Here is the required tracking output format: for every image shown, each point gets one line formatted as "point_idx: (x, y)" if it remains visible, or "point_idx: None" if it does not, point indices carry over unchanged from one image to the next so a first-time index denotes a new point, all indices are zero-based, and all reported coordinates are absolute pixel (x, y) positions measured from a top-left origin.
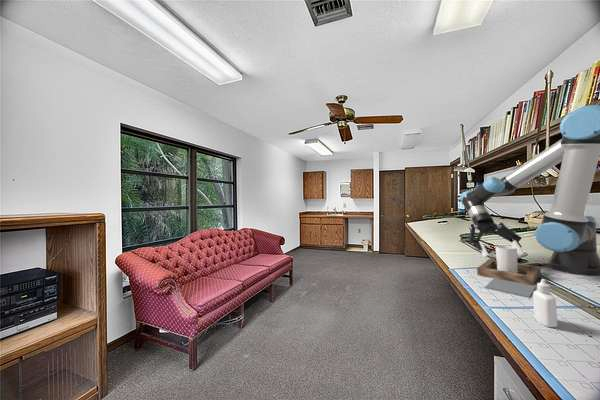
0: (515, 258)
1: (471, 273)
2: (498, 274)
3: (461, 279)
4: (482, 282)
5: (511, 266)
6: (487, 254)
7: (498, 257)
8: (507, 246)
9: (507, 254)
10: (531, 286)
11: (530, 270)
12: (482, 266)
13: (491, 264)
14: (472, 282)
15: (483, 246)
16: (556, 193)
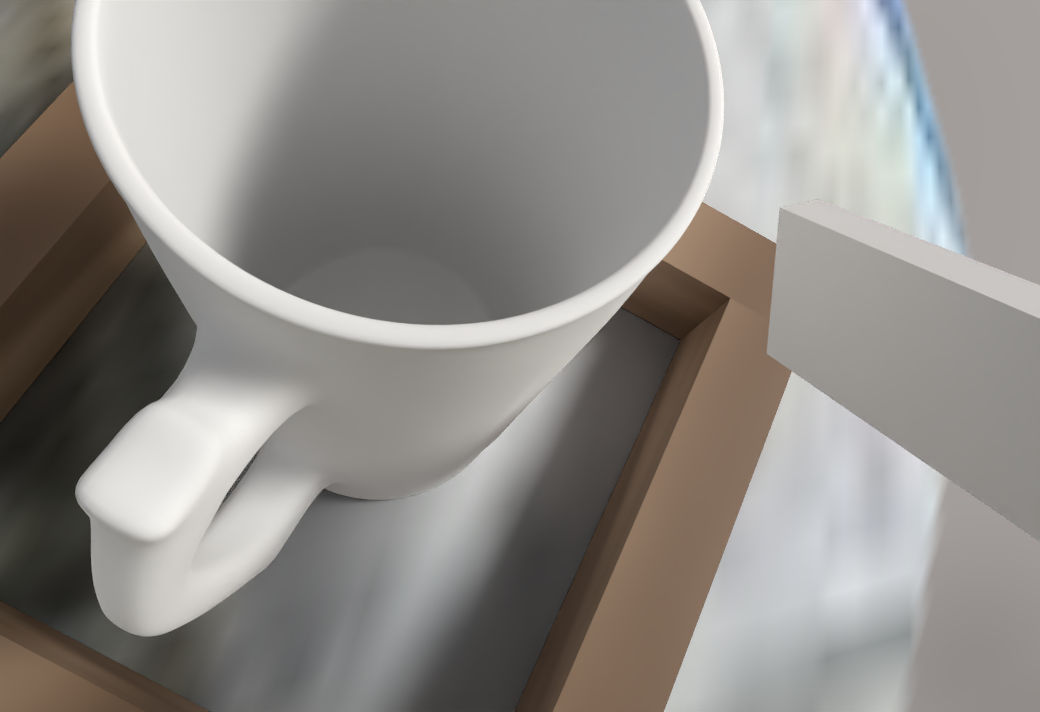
0: (270, 65)
1: None
2: None
3: (935, 130)
4: (741, 64)
5: (368, 153)
6: (805, 205)
7: (583, 170)
8: (275, 298)
9: None
10: None
11: (33, 254)
12: (747, 371)
13: (541, 705)
14: (834, 54)
15: (1011, 291)
16: None
